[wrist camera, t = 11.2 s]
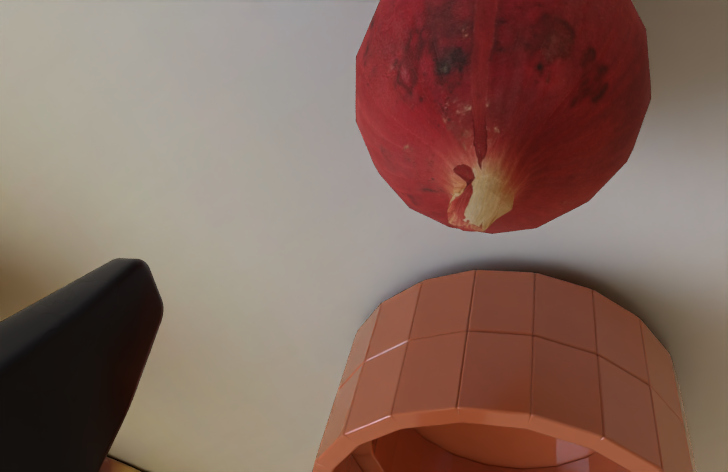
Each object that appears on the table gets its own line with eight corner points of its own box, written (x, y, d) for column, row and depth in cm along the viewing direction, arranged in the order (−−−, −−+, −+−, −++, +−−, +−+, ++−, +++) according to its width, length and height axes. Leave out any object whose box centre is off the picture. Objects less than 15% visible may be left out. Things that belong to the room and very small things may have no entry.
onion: (361, -63, 16) (240, 68, 10) (615, -144, 14) (668, -43, 8) (425, 147, 19) (365, 350, 13) (642, 106, 17) (697, 324, 11)
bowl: (652, 491, 26) (674, 658, 21) (371, 457, 28) (337, 599, 24) (703, 265, 19) (752, 436, 15) (333, 250, 22) (275, 390, 17)
